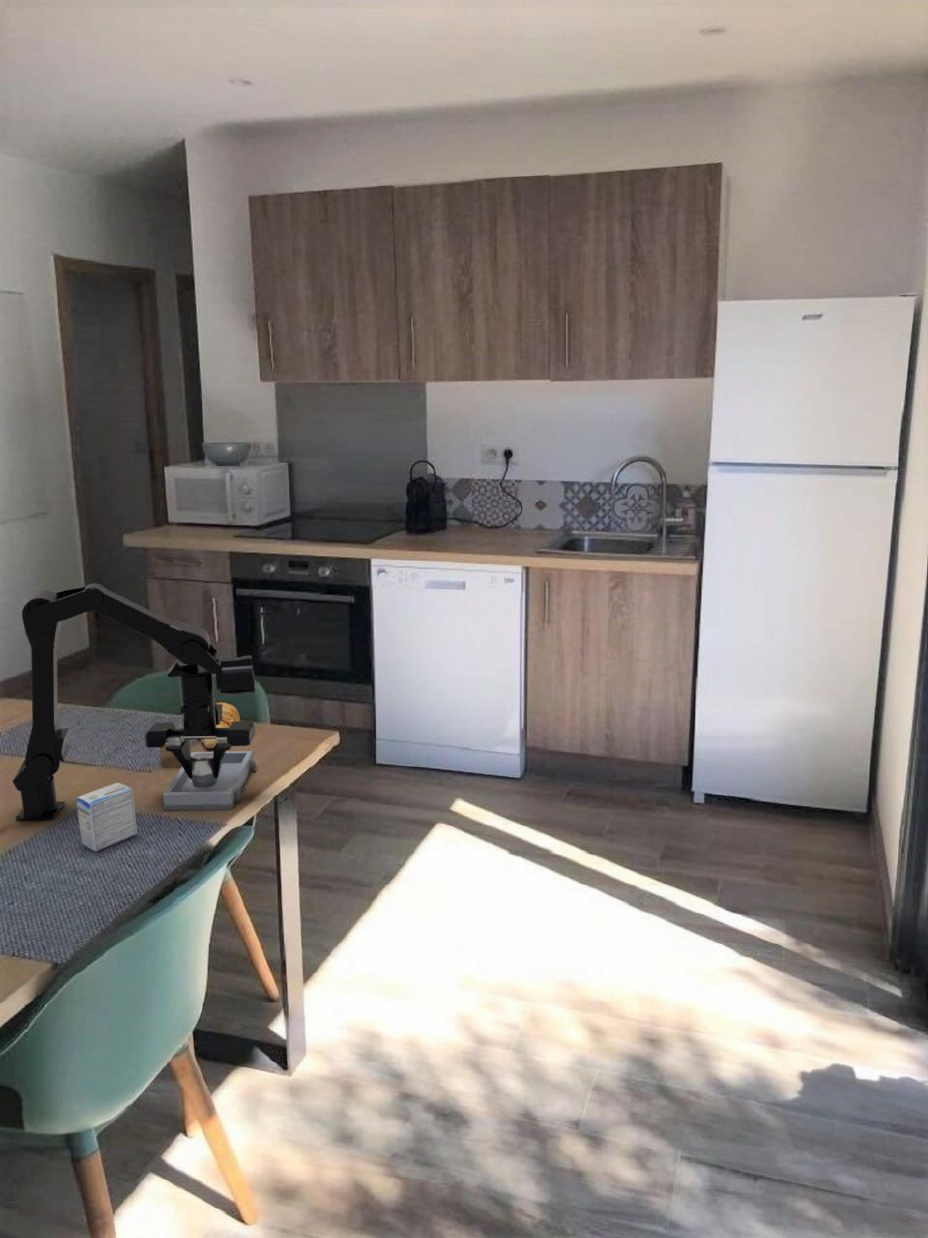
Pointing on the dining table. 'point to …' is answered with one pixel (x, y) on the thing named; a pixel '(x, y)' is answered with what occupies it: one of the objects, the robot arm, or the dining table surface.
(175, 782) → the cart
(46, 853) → the dining table surface
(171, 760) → the walnut block
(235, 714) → the croissant
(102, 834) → the medicine box
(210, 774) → the cylinder
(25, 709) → the dining table surface
